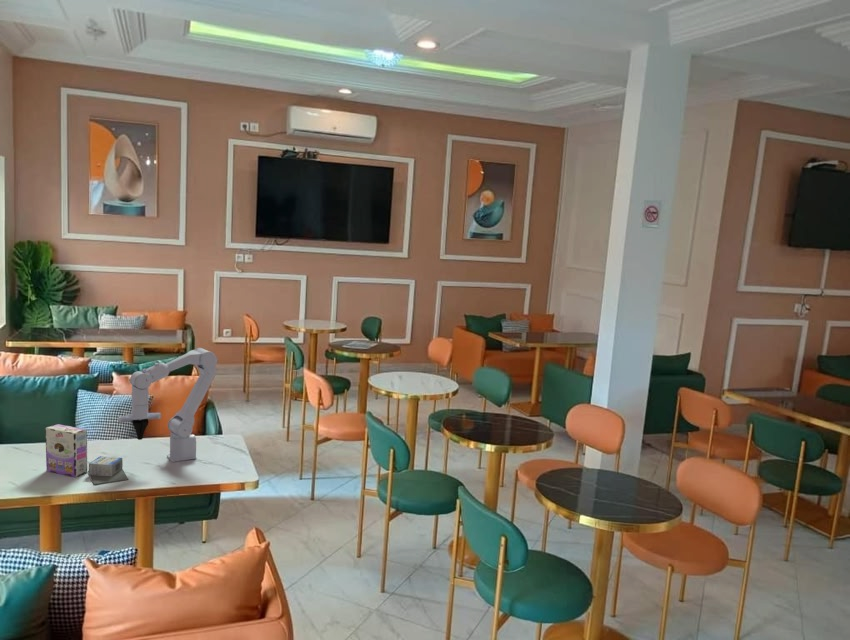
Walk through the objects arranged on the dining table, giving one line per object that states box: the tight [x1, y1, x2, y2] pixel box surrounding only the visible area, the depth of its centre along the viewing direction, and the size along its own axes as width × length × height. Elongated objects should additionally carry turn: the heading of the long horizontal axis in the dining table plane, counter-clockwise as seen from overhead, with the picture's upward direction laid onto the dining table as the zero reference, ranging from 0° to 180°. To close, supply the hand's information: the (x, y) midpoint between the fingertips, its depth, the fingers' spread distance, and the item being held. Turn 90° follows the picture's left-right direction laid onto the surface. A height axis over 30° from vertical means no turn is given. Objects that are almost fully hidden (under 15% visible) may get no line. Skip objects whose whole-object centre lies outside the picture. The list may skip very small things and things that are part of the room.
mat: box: [87, 468, 129, 486], centre depth 236 cm, size 11×14×1 cm
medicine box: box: [88, 455, 124, 476], centre depth 238 cm, size 8×4×9 cm
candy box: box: [44, 423, 88, 478], centre depth 236 cm, size 14×6×16 cm, turn 71°
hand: (139, 438), depth 246 cm, fingers closed
